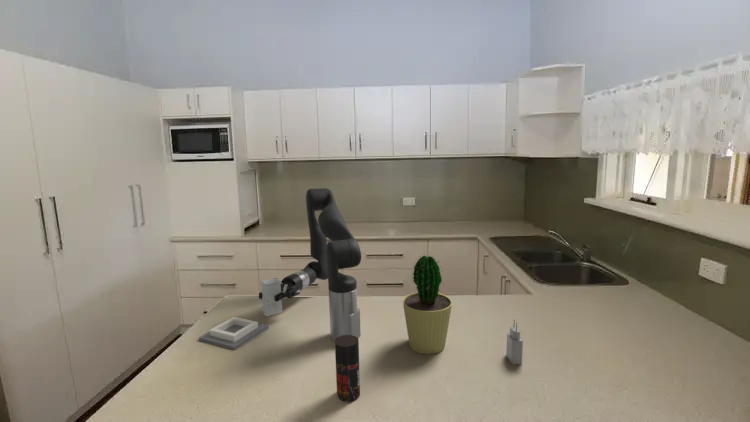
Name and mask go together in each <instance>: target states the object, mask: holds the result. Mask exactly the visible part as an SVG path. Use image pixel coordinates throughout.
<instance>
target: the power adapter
mask: <svg viewBox="0 0 750 422" xmlns="http://www.w3.org/2000/svg"><path fill="white" fill-rule="evenodd" d="M515 321H516V320H515V319H513V325H510V326H509V331H507V333H506V347H505V348H506V349H505V350H506V351H505V355H506V357H507V358H508V360H509V362H510V363H511V364H513V365H522V363H523V349H524V348H523V347H524V346H523V345H524V339H523V338H522V336H521V330H520V328H519V327H518V322H515Z"/></svg>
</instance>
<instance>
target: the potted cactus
mask: <svg viewBox="0 0 750 422" xmlns="http://www.w3.org/2000/svg"><path fill="white" fill-rule="evenodd" d="M434 256H435V255H433V256H431V255H426V256H425V254H424V255H422V256H420V257H419V258H417V259H416V261H415V262H414V263H413V262H412V265H413V264H414V265H413V269H411V270H412V274H411V275H412V276H411V279H412V283H414V285H415V286H416V287H415V288H416V290H417V292H413V293H412V292H411V293H409V294H407V295H405V296H404V297H403V299H402V304H403V305H402V306H403V311H404V317H405V325H406V331H407V338H408V344H409V347H410V348H411V349H412V350H413V351H415V352H417V353H419V354H426V355H433V354H437V353H440V352H442V351H443V350H444V349H445V347H446V341H447V336H448V330H449V324H450V319H451V313H452V306H453V299H451V298H450V297H449V296H447V295H445V294H443V293H439V291H440V289H441V287H440V286H441V284H443V277H444V276H442V274H441V273H443V272H444V271H443V270H441V267H440V266H441V265H439V263H438V262H439V260H438V258H435V257H434Z"/></svg>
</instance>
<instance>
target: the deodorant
mask: <svg viewBox="0 0 750 422" xmlns="http://www.w3.org/2000/svg"><path fill="white" fill-rule="evenodd" d="M359 341H360V340H359V337H358V338H357V337H356V336H353V335H343V336H340V337H338V338H336V340H335V342H334V355H335V374H336V375H335V379H336V397H337V399H338V400H339V401H341V402H343V403H351V402H355V401H356V400H358V399H359V398H360V397H361V381H360V380H361V378H360V375H361V374H360V372H361V371H360V349H359V346H360V345H359V344H360V343H359Z"/></svg>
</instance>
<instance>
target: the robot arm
mask: <svg viewBox="0 0 750 422" xmlns="http://www.w3.org/2000/svg"><path fill="white" fill-rule="evenodd" d="M305 205H306V215H307V222H308V223H307V224H308V229H309V241H310V242H309V243H310V246H309V247H310V248H309V249H310V256H311V258H313V259H314V260H316V261H310V262H308V263H307V264H306V265H305V267H303V268H302V269H300V270H299V271H295V272H293V273H291V274H289V275H287V276H285V277H283V279H282V280H281V281H280V282H281V293H279V294H277V295H275V296H274V300H275V301H276V302H277V301H279V300H281V299H282V300H283V299H289V300H290V299H293V298H294V297H296V296H299V295H300V294H301V291H303V290H305V289H306V288H307V287H308V286H310V285H312V284H313V283H315V281H316V280H321V281H322V280H323V281H325V280H327V281H328V282H327V283H328V284H327V285H328V303H329V304H328V306H329V311H328V312H329V328H330V329H329V330H330V331H329V332H330V339H331V341H333V342H334V343H335V340H336V338H338V337H340V336H343V335H353V336H356V337H357V338H358V339H359V338H360V336H361V309H360V308H358V289H357V287H358V286H357V285H358V283H357V279H356V277H353V276H352V275H348V274H344V273H341V272H340V271H339V270H342V269H343V270H344V269H351V268H356V267H358V266H359V265H360V264H361V261H362V252H361V247H360V245H359V243H358V241H357V239H356V238H355V236H354V235H353V234H352V232H351V231H350V229H349V227H348V225H347V224H346V222H345V219H344V217H343V215H342V213H341V211H340V210H339V207H338V206H337V203H336V199H335V197H334V194H333V192H332V190H331V189H330V188H326V187H324V188H323V187H321V188H309V189H307V191H306V193H305ZM319 211H320V213H319V215H318V218H316V212H319ZM328 239H329V240H330V241H328ZM258 299H259V300H262V291H260V292H258Z"/></svg>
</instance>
